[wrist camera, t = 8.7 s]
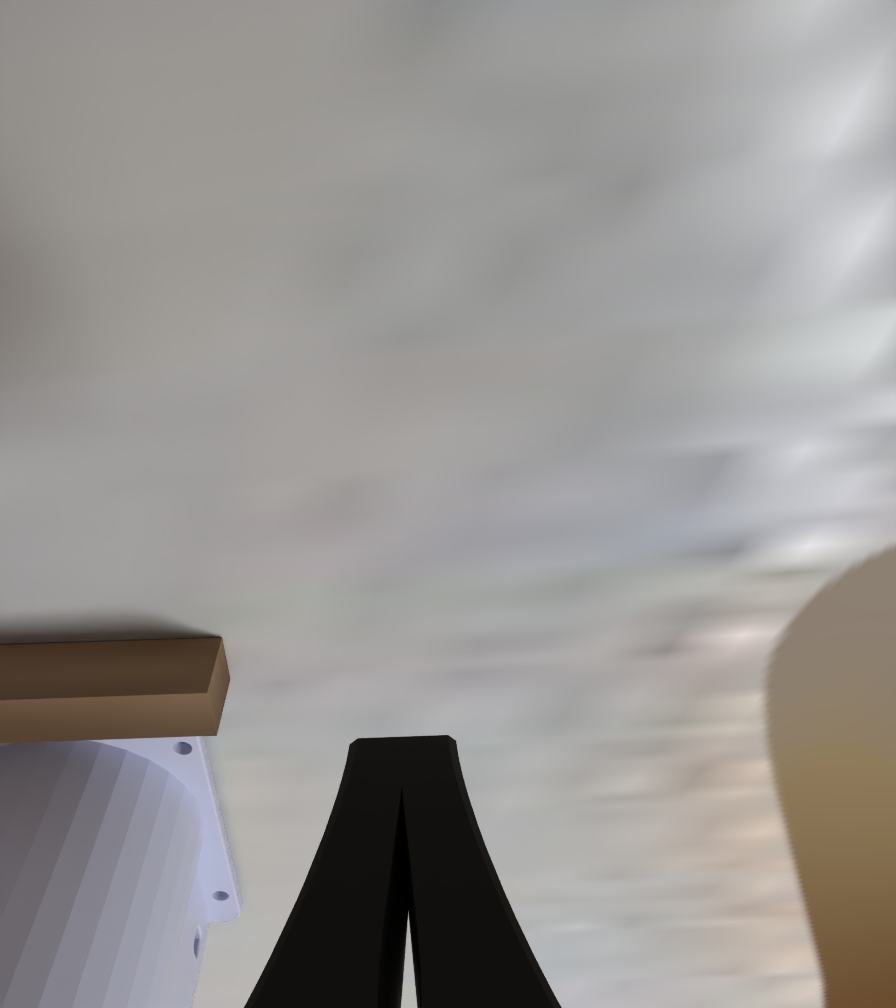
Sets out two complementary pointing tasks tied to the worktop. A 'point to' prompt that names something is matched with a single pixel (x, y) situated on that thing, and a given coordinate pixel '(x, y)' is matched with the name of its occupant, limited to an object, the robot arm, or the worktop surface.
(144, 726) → the wooden tray
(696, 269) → the worktop surface
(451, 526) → the worktop surface
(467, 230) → the worktop surface
